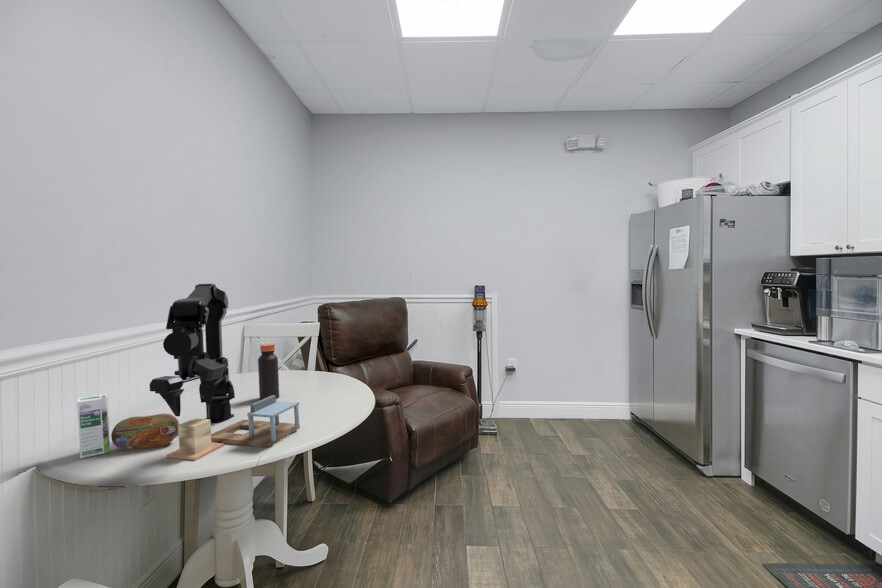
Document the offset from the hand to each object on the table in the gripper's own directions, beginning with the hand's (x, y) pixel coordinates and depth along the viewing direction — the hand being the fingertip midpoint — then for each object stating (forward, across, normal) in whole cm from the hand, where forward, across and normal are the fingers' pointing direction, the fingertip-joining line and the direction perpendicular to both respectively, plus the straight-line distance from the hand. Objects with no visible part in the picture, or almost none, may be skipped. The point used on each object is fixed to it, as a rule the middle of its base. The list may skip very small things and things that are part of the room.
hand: (193, 410), depth 104 cm
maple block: (+10, 0, 0) cm, 10 cm away
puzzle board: (+11, +13, -7) cm, 18 cm away
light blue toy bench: (+9, +13, -14) cm, 21 cm away
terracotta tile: (+11, 0, 0) cm, 11 cm away
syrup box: (+11, -6, +26) cm, 29 cm away
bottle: (+11, +45, +13) cm, 48 cm away
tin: (+11, 0, +16) cm, 20 cm away
